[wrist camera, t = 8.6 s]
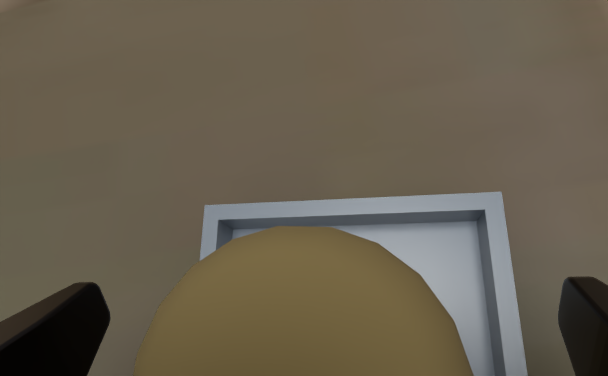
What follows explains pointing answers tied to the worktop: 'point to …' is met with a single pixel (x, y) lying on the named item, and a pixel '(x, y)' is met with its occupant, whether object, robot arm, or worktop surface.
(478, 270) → the tray
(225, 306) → the cork
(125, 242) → the worktop surface
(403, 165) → the worktop surface
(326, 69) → the worktop surface
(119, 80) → the worktop surface
